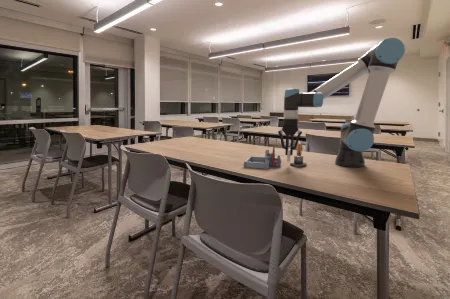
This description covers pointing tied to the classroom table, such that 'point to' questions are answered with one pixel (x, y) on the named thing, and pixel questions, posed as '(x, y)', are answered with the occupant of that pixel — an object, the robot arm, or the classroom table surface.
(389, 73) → the robot arm
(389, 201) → the classroom table surface
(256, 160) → the tray
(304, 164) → the crank base
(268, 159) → the grey red spired block
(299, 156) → the crank
